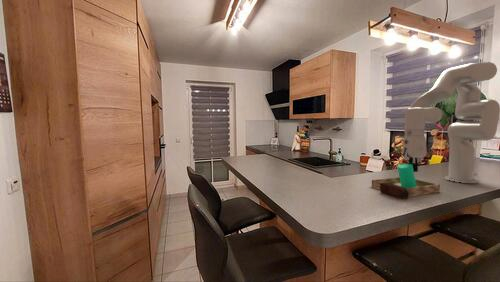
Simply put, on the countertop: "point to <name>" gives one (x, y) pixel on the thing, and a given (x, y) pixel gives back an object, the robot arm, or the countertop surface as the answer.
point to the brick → (394, 190)
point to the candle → (406, 175)
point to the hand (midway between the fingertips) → (413, 171)
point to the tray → (420, 188)
